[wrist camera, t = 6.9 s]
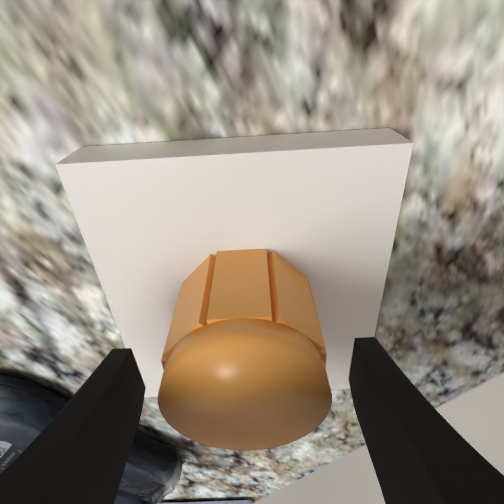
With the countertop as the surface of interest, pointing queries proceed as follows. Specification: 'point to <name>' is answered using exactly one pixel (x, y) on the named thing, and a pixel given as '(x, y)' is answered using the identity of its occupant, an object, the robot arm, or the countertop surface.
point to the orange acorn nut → (245, 354)
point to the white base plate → (241, 224)
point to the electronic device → (45, 410)
